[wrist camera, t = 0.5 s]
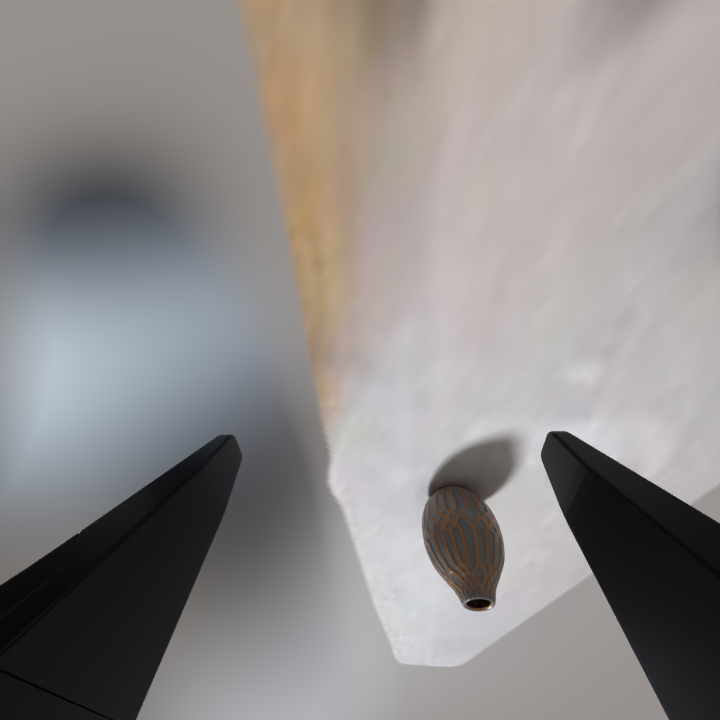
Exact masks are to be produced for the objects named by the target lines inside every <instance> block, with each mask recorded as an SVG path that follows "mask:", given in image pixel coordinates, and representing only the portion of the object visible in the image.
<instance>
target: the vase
mask: <svg viewBox="0 0 720 720" xmlns="http://www.w3.org/2000/svg"><path fill="white" fill-rule="evenodd" d="M422 532H423V539H424V544H425V548H426V551H427V553H428V556H429V558H430V560H431V562H432V564H433V566H434V568H435V569H436V571H437V572H438V573H439V574H440V576H441V577H442V578H443V579H444V580H445V581H446V583H447V584H448V585H449V586H450V587H451V588H452V589H453V590H454V592H455V593H456V594H457V596H458V598H459V599H460V601H461V603H462V605H463V606H464V607H465V608H466V609H468V610H471V611H486V610H489V609H491V608H493V607H494V606H495V599H496V588H497V585H498V582H499V579H500V576H501V573H502V569H503V565H504V543H503V538H502V533H501V531H500V528H499V525H498V523H497V520H496V518H495V516H494V514H493V513H492V511H491V510H490V508H489V507H488V506H487V504H486V503H485V502H484V501H483V500H482V499H481V498H480V497H479V496H478V495H476V494H475V493H473V492H472V491H470V490H468V489H465V488H463V487H458V486H448V487H444V488H441V489H439V490H437V491H436V492H435V493H434V494H433V495H432V496H431V497H430V498H429V500H428V501H427V503H426V505H425V508H424V511H423V517H422Z"/></svg>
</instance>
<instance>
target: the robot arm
mask: <svg viewBox="0 0 720 720" xmlns="http://www.w3.org/2000/svg"><path fill="white" fill-rule="evenodd" d="M541 459H542V462H543V465H544V467H545V470H546V472H547V475H548V477H549V480H550V482H551V485H552V487H553V490H554V492H555V495H556V497H557V500H558V503H559V505H560V508H561V510H562V512H563V515H564V517H565V519H566V521H567V523H568V525H569V527H570V529H571V531H572V533H573V535H574V537H575V539H576V541H577V543H578V544H579V546H580V548H581V550H582V552H583V554H584V556H585V558H586V560H587V562H588V564H589V566H590V568H591V570H592V572H593V573H594V575H595V577H596V579H597V581H598V583H599V585H600V587H601V589H602V591H603V593H604V595H605V597H606V599H607V601H608V603H609V604H610V606H611V608H612V610H613V612H614V614H615V616H616V618H617V620H618V622H619V624H620V626H621V628H622V629H623V631H624V633H625V635H626V637H627V639H628V641H629V643H630V645H631V647H632V649H633V651H634V653H635V655H636V657H637V659H638V661H639V662H640V664H641V666H642V668H643V670H644V672H645V674H646V676H647V678H648V680H649V682H650V684H651V686H652V688H653V689H654V692H655V693H656V695H657V697H658V699H659V701H660V703H661V705H662V707H663V709H664V711H665V713H666V715H667V717H668V719H669V720H720V523H718V522H717V521H715V520H713V519H712V518H710V517H708V516H707V515H705V514H703V513H702V512H700V511H698V510H697V509H695V508H693V507H692V506H690V505H688V504H687V503H685V502H683V501H682V500H680V499H678V498H677V497H675V496H673V495H672V494H670V493H668V492H667V491H665V490H663V489H662V488H660V487H658V486H657V485H655V484H653V483H652V482H650V481H648V480H647V479H645V478H643V477H642V476H640V475H639V474H637V473H635V472H634V471H632V470H630V469H629V468H627V467H625V466H624V465H622V464H620V463H619V462H617V461H615V460H614V459H612V458H610V457H609V456H607V455H605V454H604V453H602V452H600V451H599V450H597V449H595V448H594V447H592V446H590V445H589V444H587V443H585V442H584V441H582V440H580V439H579V438H577V437H575V436H574V435H572V434H570V433H568V432H566V431H551V432H549V433H548V434H547V437H546V439H545V442H544V445H543V448H542V451H541ZM241 462H242V452H241V450H240V448H239V445H238V443H237V440H236V438H235V436H233V435H219V436H217V437H216V438H214V439H213V440H211V441H210V442H209V443H207V444H206V445H204V446H203V447H201V448H200V449H199V450H197V451H196V452H194V453H193V454H191V455H190V456H188V457H187V458H186V459H184V460H183V461H182V462H180V463H178V464H177V465H176V466H174V467H173V468H171V469H170V470H168V471H167V472H165V473H164V474H163V475H161V476H160V477H158V478H157V479H155V480H154V481H152V482H151V483H149V484H148V485H147V486H145V487H144V488H142V489H141V490H139V491H138V492H137V493H135V494H134V495H132V496H131V497H129V498H128V499H126V500H125V501H124V502H122V503H121V504H119V505H118V506H116V507H115V508H113V509H112V510H111V511H109V512H108V513H106V514H105V515H103V516H102V517H100V518H99V519H98V520H96V521H95V522H93V523H92V524H90V525H89V526H88V527H86V528H85V529H83V530H82V531H81V532H80V534H76V535H75V536H73V537H72V538H70V539H69V540H67V541H66V542H64V543H63V544H62V545H60V546H59V547H57V548H56V549H54V550H53V551H51V552H50V553H48V554H47V555H45V556H44V557H42V558H41V559H39V560H38V561H37V562H35V563H34V564H32V565H31V566H29V567H28V568H26V569H25V570H24V571H22V572H20V573H19V574H17V575H15V576H14V577H12V578H11V579H9V580H8V581H6V582H5V583H3V584H2V585H0V720H136V718H137V716H138V714H139V711H140V709H141V707H142V705H143V702H144V700H145V697H146V695H147V693H148V690H149V688H150V686H151V684H152V681H153V679H154V677H155V674H156V672H157V670H158V667H159V665H160V663H161V660H162V658H163V656H164V653H165V651H166V649H167V646H168V644H169V642H170V639H171V637H172V635H173V632H174V630H175V628H176V625H177V623H178V621H179V618H180V616H181V614H182V611H183V609H184V607H185V604H186V602H187V600H188V597H189V595H190V593H191V590H192V588H193V586H194V583H195V581H196V579H197V576H198V574H199V572H200V569H201V567H202V565H203V562H204V560H205V558H206V555H207V553H208V551H209V549H210V546H211V544H212V541H213V539H214V537H215V535H216V532H217V530H218V528H219V525H220V523H221V520H222V518H223V516H224V513H225V511H226V508H227V505H228V502H229V499H230V496H231V493H232V490H233V487H234V484H235V480H236V477H237V474H238V471H239V468H240V465H241Z"/></svg>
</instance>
